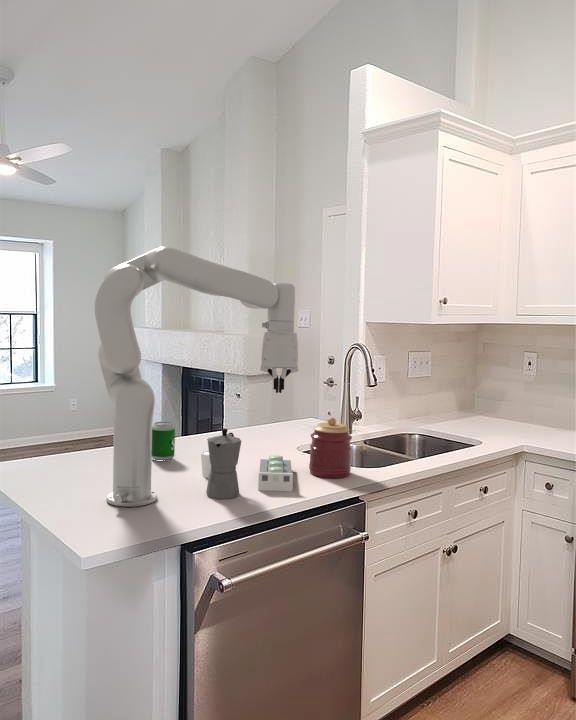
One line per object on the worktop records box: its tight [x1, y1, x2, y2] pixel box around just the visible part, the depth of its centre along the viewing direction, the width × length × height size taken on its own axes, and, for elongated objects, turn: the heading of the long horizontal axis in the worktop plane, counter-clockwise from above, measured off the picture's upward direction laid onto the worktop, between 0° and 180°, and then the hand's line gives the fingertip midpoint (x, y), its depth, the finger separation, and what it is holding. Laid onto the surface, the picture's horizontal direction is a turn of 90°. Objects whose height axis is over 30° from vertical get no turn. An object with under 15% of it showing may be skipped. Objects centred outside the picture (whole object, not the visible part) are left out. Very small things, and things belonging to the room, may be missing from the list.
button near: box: [268, 467, 284, 473], centre depth 174 cm, size 4×4×3 cm
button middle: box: [268, 461, 283, 468], centre depth 181 cm, size 4×4×3 cm
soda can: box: [152, 421, 176, 461], centre depth 199 cm, size 8×8×12 cm
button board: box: [257, 458, 294, 492], centre depth 181 cm, size 24×10×5 cm, turn 1°
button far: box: [268, 454, 284, 462], centre depth 188 cm, size 4×4×3 cm
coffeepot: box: [205, 428, 242, 500], centre depth 165 cm, size 15×9×18 cm, turn 171°
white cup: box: [200, 450, 211, 479], centre depth 182 cm, size 7×7×7 cm
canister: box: [308, 417, 353, 479], centre depth 189 cm, size 13×13×18 cm
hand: (278, 392), depth 172 cm, fingers closed
